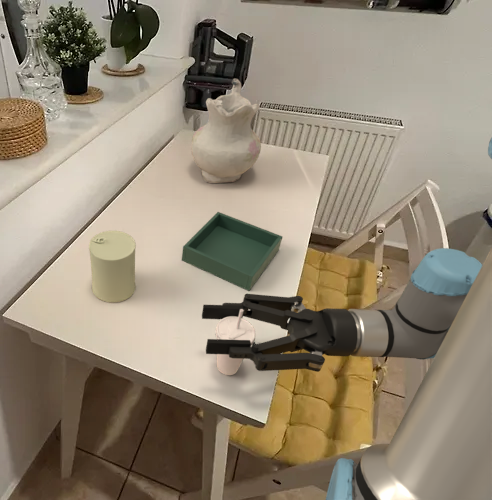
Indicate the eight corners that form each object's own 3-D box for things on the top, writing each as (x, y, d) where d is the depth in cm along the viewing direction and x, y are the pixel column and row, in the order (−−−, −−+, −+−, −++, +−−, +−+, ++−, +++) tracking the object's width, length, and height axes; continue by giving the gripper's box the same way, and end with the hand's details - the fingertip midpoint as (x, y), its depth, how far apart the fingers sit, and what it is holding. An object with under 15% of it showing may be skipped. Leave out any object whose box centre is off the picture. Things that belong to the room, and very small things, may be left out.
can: (102, 267, 95) (100, 224, 87) (141, 277, 93) (142, 234, 85) (84, 295, 88) (80, 251, 81) (126, 307, 86) (125, 263, 78)
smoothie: (251, 361, 76) (267, 308, 67) (237, 388, 72) (252, 335, 63) (218, 345, 79) (229, 292, 70) (202, 370, 75) (212, 317, 66)
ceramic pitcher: (189, 156, 137) (189, 77, 121) (250, 154, 136) (259, 73, 120) (192, 193, 121) (193, 107, 105) (262, 191, 120) (274, 103, 103)
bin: (278, 250, 101) (282, 236, 98) (249, 291, 90) (252, 277, 87) (215, 224, 108) (217, 211, 105) (181, 260, 97) (182, 246, 95)
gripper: (362, 400, 64) (207, 395, 64) (323, 303, 79) (197, 300, 79) (381, 370, 59) (214, 365, 59) (335, 274, 74) (202, 270, 74)
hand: (205, 328), depth 69 cm, fingers closed on smoothie, 6 cm apart
